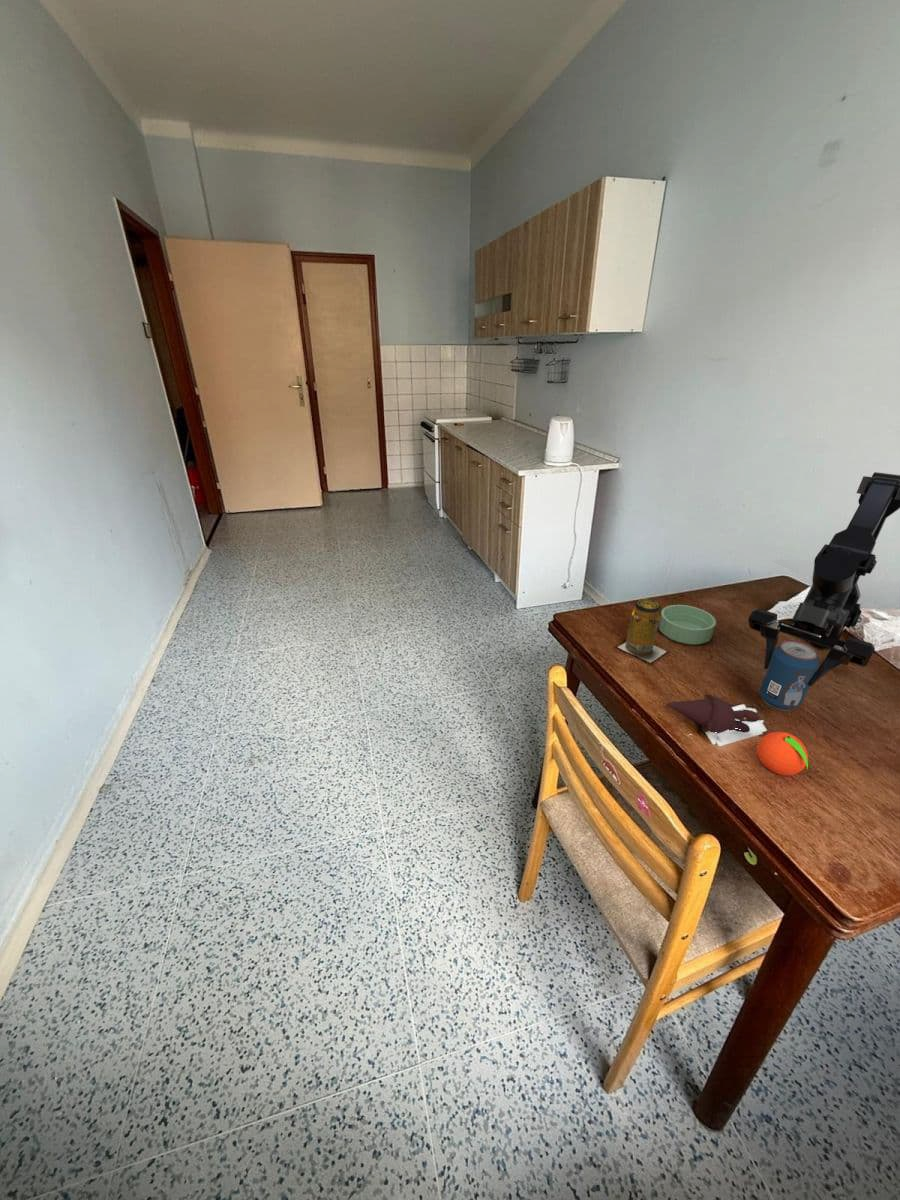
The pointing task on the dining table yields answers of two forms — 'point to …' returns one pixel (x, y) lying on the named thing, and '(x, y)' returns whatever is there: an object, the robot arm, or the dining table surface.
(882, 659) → the dining table surface
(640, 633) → the condiment
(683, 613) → the pale green shallow bowl
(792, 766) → the clementine
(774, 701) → the soda can
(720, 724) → the icecream
